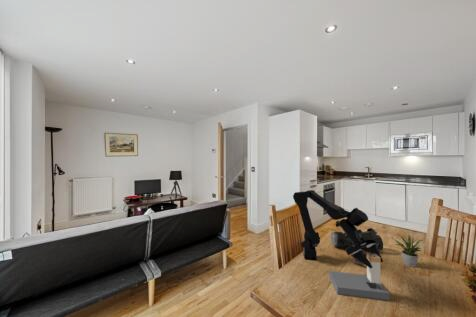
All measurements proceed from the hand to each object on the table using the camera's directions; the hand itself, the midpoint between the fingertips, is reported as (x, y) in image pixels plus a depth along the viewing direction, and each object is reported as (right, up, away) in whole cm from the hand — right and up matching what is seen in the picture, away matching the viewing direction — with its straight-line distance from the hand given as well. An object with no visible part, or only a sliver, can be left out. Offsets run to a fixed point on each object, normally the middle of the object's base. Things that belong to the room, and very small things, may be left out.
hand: (377, 264), depth 80 cm
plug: (-1, -8, +1) cm, 8 cm away
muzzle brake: (+17, -14, +42) cm, 47 cm away
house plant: (+37, -13, +24) cm, 46 cm away
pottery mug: (+10, -13, +25) cm, 30 cm away
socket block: (-6, -13, +4) cm, 15 cm away
